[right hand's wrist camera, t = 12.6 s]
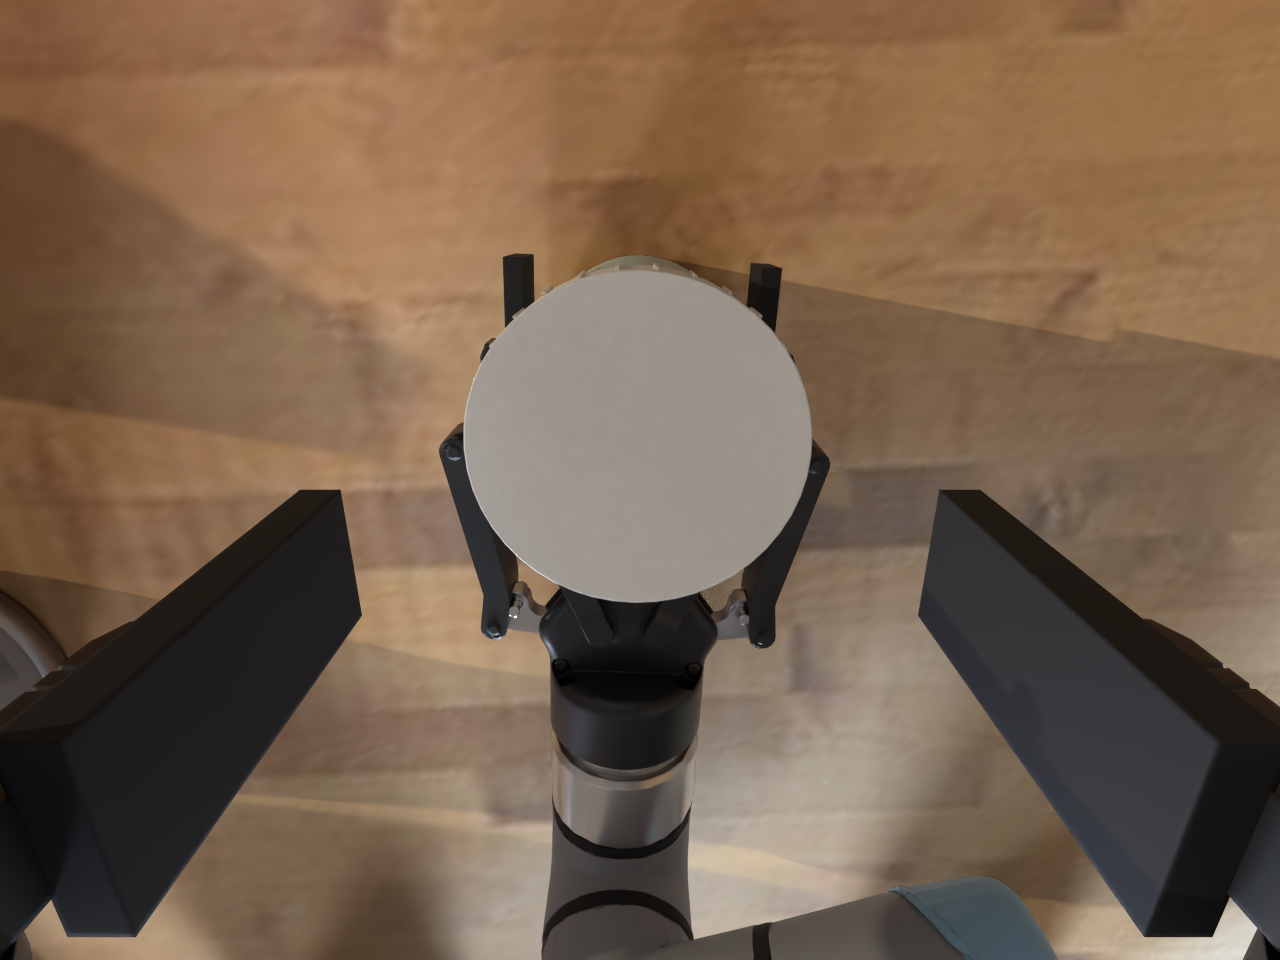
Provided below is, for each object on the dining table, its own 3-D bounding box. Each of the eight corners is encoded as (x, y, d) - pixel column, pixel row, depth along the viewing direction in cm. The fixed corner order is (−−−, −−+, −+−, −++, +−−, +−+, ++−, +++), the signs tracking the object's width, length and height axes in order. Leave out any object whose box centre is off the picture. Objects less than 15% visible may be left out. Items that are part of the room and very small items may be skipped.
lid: (410, 396, 20) (385, 415, 19) (677, 186, 18) (682, 182, 16) (606, 621, 23) (604, 659, 21) (857, 461, 21) (880, 486, 19)
